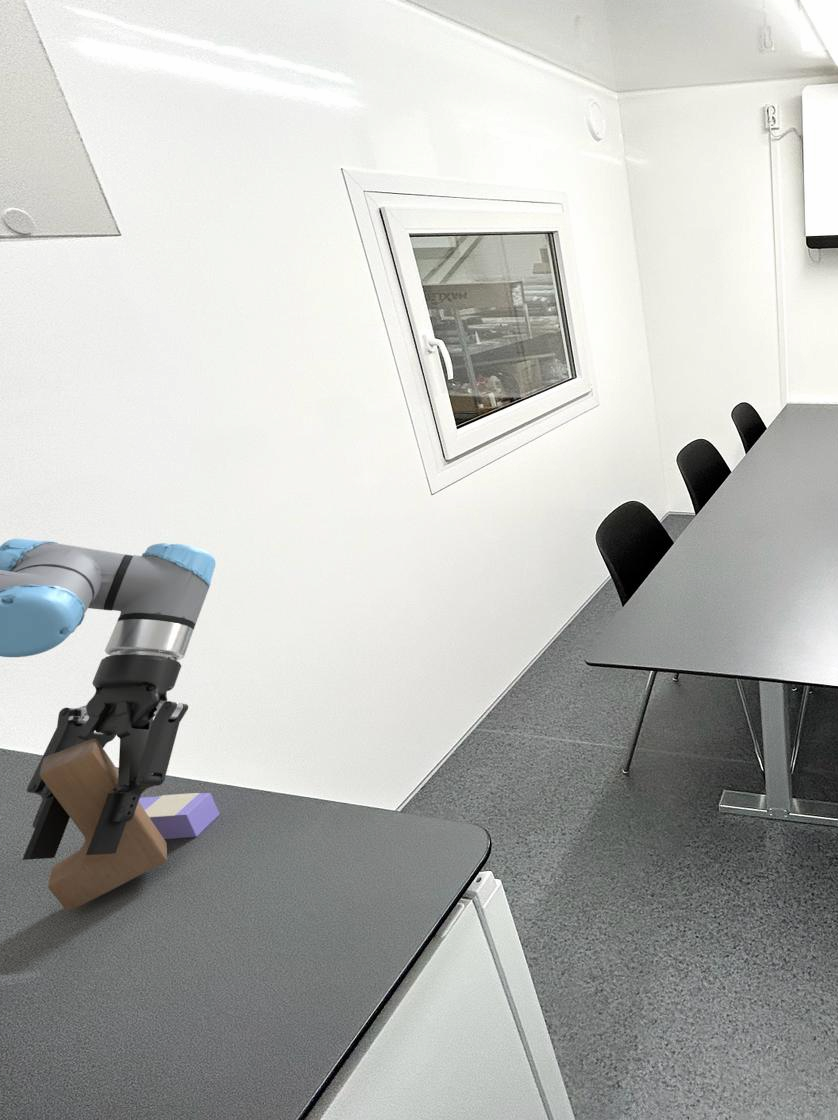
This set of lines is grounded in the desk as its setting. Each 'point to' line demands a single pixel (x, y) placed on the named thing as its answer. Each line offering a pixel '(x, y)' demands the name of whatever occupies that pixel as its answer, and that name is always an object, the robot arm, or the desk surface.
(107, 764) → the wooden block
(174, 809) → the snack box
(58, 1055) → the desk surface
